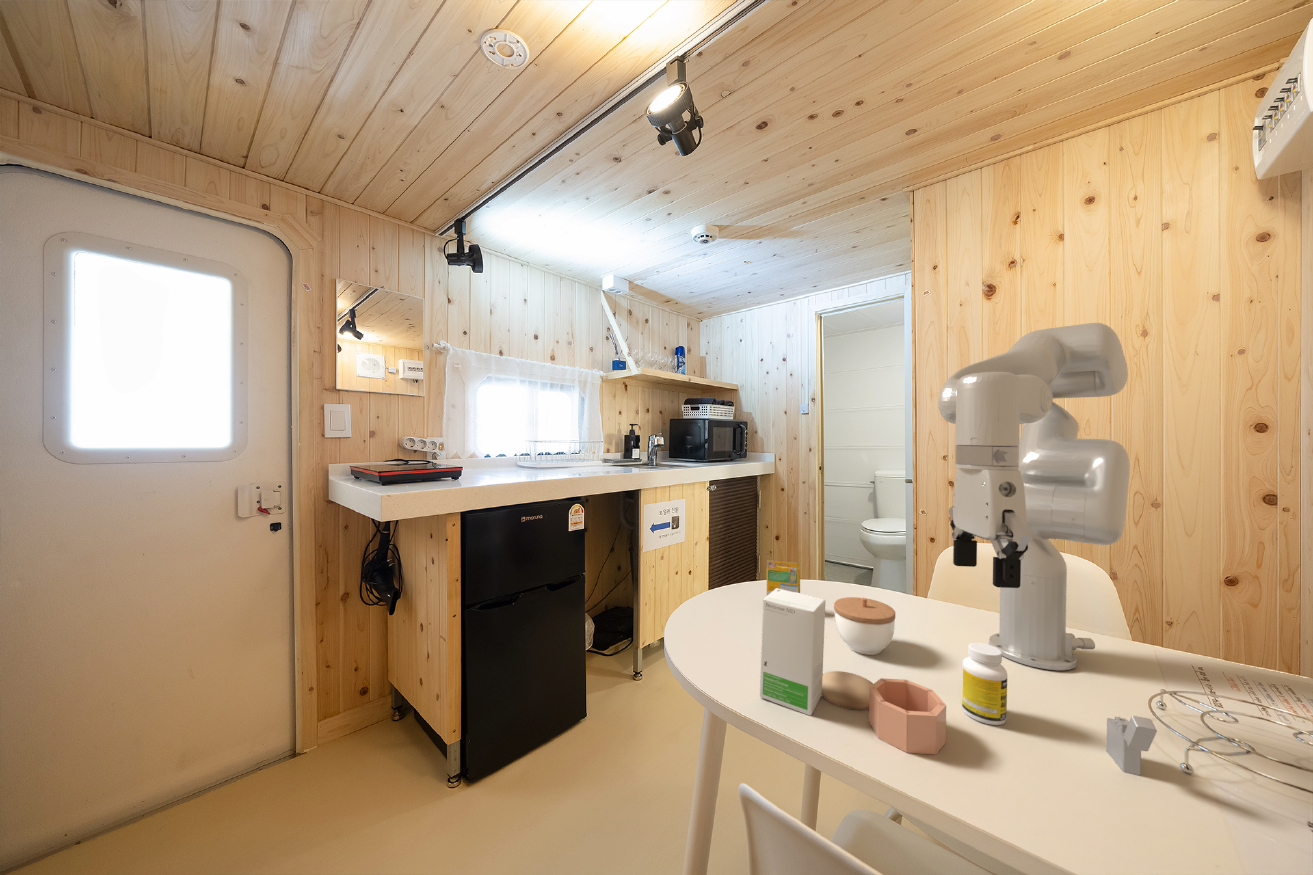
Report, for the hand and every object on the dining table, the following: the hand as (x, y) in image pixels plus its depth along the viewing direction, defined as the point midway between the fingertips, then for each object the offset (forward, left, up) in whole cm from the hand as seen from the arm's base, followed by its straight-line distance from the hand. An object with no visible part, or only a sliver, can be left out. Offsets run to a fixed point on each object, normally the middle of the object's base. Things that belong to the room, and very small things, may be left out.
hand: (984, 575), depth 67 cm
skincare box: (+27, -2, -21) cm, 34 cm away
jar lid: (+18, -4, -20) cm, 27 cm away
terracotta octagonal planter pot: (+13, +5, -20) cm, 25 cm away
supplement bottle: (0, 0, -21) cm, 21 cm away
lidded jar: (+10, -20, -21) cm, 30 cm away
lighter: (-11, +10, -21) cm, 26 cm away
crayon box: (+22, -37, -21) cm, 48 cm away
